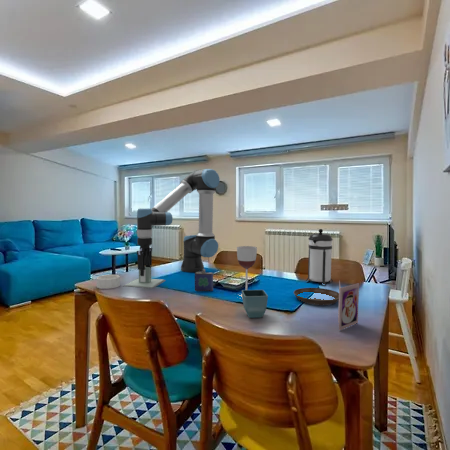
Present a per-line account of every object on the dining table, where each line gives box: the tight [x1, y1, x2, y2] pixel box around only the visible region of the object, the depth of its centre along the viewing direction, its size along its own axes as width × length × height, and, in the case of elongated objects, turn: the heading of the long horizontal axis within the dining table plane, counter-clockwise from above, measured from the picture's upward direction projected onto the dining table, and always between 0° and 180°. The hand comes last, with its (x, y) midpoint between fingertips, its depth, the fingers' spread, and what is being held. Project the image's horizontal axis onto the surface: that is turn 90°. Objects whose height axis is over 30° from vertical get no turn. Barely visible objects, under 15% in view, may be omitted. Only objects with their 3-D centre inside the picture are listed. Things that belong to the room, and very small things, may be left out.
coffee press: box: [305, 228, 334, 285], centre depth 167 cm, size 17×16×30 cm
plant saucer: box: [293, 287, 339, 306], centre depth 135 cm, size 21×21×3 cm
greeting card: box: [337, 279, 360, 331], centre depth 106 cm, size 11×7×15 cm, turn 126°
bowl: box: [96, 274, 121, 290], centre depth 154 cm, size 11×11×5 cm
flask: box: [194, 268, 214, 292], centre depth 148 cm, size 9×3×11 cm, turn 88°
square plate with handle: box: [124, 267, 165, 289], centre depth 160 cm, size 15×15×9 cm
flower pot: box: [241, 289, 269, 319], centre depth 114 cm, size 9×9×9 cm
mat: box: [122, 279, 167, 289], centre depth 160 cm, size 17×17×1 cm
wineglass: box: [236, 245, 258, 297], centre depth 139 cm, size 9×10×23 cm
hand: (145, 280), depth 160 cm, fingers open, 4 cm apart
